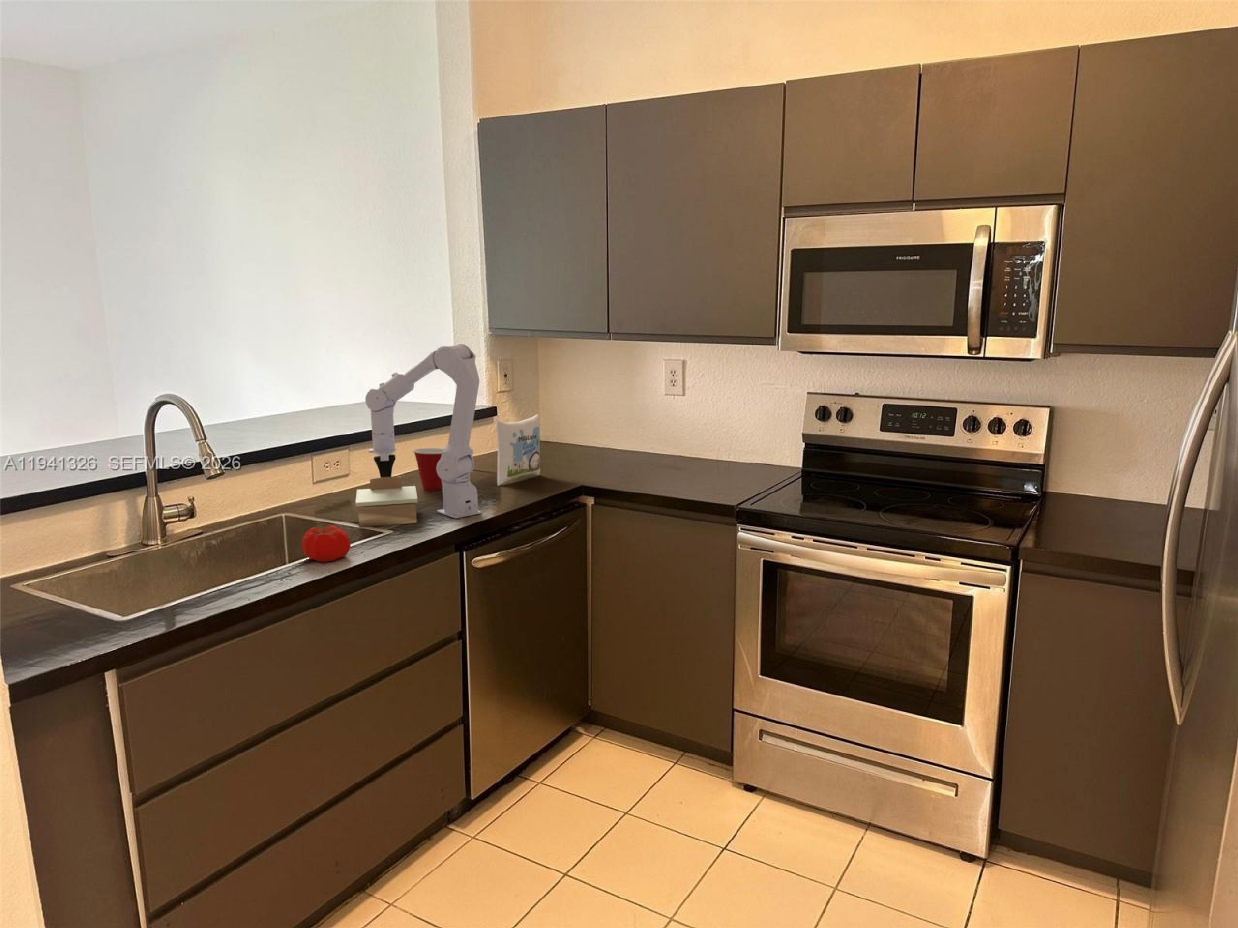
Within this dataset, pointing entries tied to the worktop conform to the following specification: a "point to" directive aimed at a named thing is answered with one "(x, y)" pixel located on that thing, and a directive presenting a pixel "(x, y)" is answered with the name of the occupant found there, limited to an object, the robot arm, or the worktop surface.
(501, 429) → the pouch
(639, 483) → the worktop surface
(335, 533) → the tomato
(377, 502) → the lid
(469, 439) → the robot arm
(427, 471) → the plastic cup
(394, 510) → the storage box
